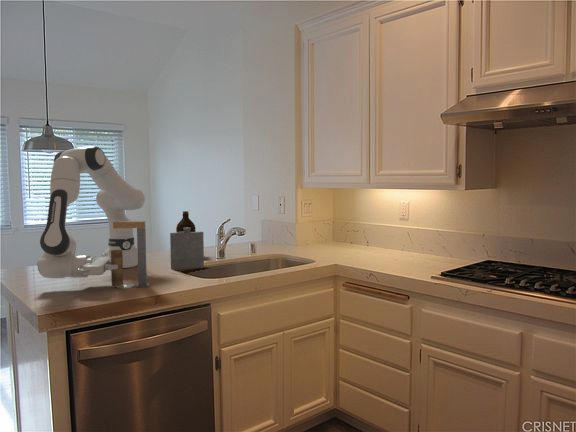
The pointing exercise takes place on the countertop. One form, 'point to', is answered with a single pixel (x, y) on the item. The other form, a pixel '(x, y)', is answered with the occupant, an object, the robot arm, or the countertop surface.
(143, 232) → the keeper
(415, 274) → the countertop surface
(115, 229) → the robot arm
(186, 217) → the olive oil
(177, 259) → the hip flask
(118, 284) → the brown tall wooden block
